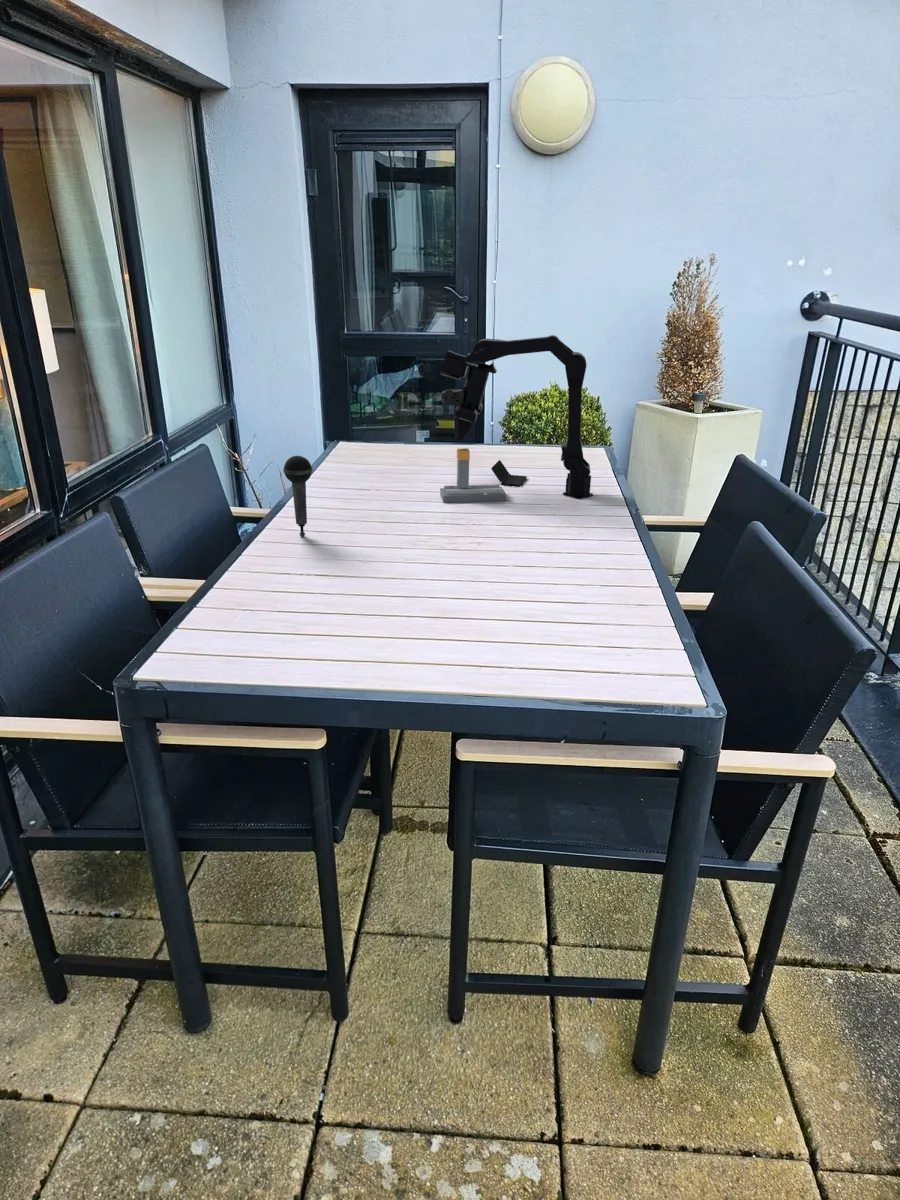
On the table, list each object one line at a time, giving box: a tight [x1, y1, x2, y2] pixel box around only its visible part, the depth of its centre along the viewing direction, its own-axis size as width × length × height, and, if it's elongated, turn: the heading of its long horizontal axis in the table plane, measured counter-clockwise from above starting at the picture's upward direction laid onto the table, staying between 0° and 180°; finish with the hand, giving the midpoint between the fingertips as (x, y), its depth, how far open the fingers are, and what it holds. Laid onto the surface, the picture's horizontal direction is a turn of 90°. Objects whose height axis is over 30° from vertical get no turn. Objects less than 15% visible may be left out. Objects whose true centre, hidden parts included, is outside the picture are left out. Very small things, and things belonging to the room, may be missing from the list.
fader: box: [453, 448, 472, 489], centre depth 222 cm, size 5×3×12 cm, turn 97°
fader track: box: [439, 483, 507, 504], centre depth 225 cm, size 18×8×3 cm, turn 97°
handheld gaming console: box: [490, 459, 528, 488], centre depth 242 cm, size 12×7×10 cm
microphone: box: [282, 455, 313, 538], centre depth 189 cm, size 7×7×20 cm
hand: (461, 437), depth 228 cm, fingers open, 9 cm apart
